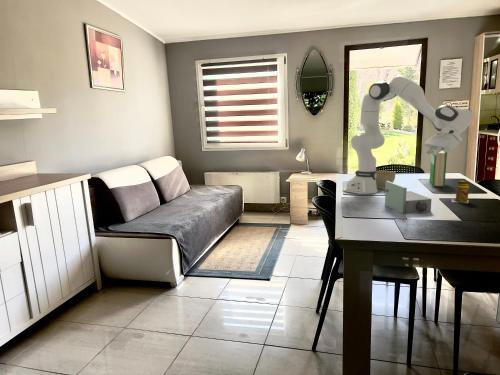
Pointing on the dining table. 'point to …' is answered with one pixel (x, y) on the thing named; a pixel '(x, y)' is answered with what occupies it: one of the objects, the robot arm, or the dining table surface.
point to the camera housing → (417, 203)
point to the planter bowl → (384, 178)
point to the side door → (395, 197)
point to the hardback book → (438, 168)
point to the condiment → (462, 192)
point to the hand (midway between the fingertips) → (430, 154)
